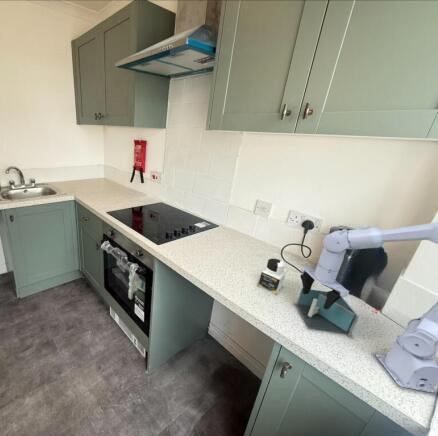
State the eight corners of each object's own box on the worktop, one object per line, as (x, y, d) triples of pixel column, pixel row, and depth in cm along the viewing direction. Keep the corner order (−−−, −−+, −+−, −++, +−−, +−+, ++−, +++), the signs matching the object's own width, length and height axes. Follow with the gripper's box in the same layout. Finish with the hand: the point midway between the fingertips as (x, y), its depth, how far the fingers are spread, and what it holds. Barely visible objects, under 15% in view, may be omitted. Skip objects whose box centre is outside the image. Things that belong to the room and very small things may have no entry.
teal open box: (350, 336, 78) (359, 316, 75) (309, 329, 80) (316, 310, 77) (331, 310, 89) (339, 292, 86) (296, 305, 91) (302, 287, 88)
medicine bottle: (257, 285, 101) (264, 260, 97) (264, 278, 106) (271, 254, 101) (275, 294, 97) (283, 268, 92) (281, 286, 101) (289, 261, 97)
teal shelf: (338, 337, 77) (346, 319, 74) (305, 314, 85) (311, 297, 82) (347, 331, 79) (355, 313, 76) (314, 309, 87) (320, 293, 85)
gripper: (361, 277, 73) (345, 312, 78) (316, 253, 86) (305, 285, 91) (345, 281, 71) (330, 317, 76) (301, 256, 83) (291, 289, 89)
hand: (315, 300), depth 83 cm, fingers open, 7 cm apart
